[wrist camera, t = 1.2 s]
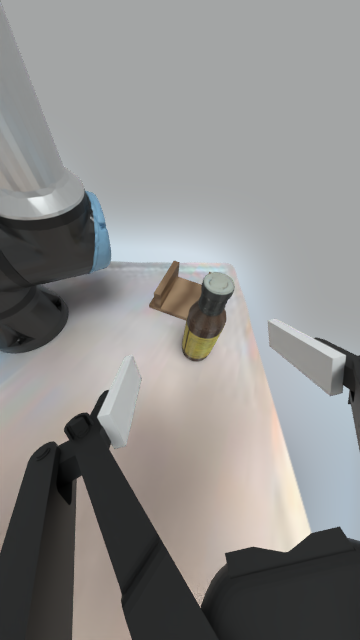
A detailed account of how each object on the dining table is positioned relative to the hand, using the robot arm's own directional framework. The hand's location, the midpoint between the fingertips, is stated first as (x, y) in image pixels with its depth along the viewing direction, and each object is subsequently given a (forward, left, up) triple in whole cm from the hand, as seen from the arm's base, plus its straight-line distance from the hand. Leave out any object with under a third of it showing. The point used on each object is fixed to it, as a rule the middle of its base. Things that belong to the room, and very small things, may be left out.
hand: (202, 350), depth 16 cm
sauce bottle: (0, +9, -20) cm, 22 cm away
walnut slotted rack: (-7, +21, -20) cm, 30 cm away
